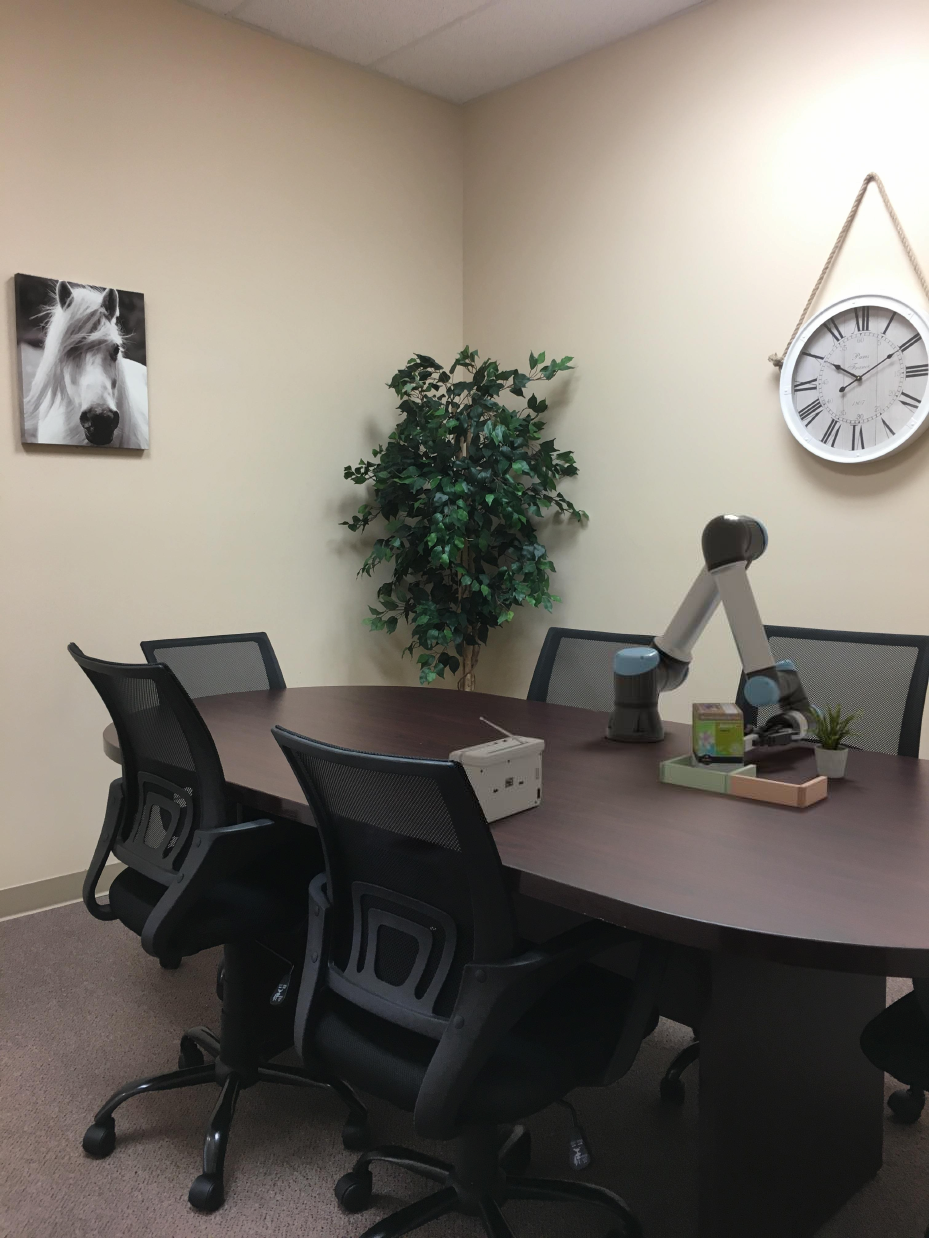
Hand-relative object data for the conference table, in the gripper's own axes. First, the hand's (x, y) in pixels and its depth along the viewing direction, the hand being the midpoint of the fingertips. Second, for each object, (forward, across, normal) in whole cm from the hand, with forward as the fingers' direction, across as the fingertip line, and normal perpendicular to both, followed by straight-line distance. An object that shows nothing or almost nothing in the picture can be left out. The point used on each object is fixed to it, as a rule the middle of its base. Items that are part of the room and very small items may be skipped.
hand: (742, 745), depth 213 cm
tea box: (+5, +4, -6) cm, 8 cm away
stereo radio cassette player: (+62, +20, -5) cm, 66 cm away
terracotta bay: (+15, -15, -6) cm, 22 cm away
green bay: (+14, +1, -6) cm, 15 cm away
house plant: (-9, -17, -6) cm, 21 cm away
